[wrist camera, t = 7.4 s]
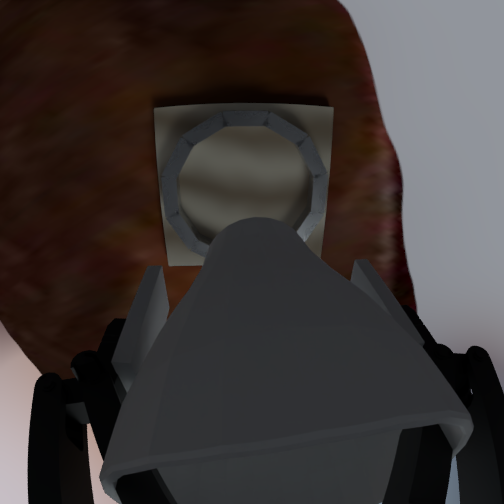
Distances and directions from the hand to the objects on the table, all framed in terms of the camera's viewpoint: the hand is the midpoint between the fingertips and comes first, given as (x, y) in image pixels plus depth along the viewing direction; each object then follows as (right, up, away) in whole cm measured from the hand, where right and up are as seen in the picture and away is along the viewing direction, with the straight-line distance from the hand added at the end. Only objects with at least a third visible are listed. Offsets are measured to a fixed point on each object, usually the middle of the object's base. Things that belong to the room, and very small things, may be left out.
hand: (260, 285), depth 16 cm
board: (-1, +9, +16) cm, 19 cm away
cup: (0, +1, +2) cm, 2 cm away
